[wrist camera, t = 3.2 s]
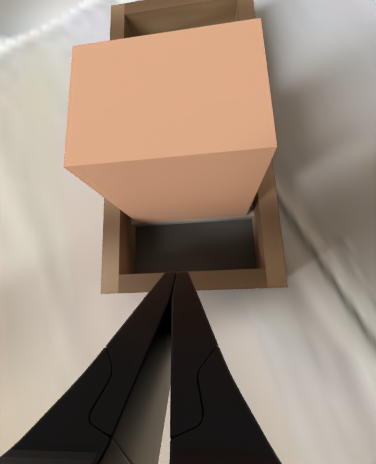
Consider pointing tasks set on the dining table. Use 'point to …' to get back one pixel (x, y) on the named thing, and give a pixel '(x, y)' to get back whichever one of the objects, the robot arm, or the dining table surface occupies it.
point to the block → (173, 121)
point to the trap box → (197, 230)
